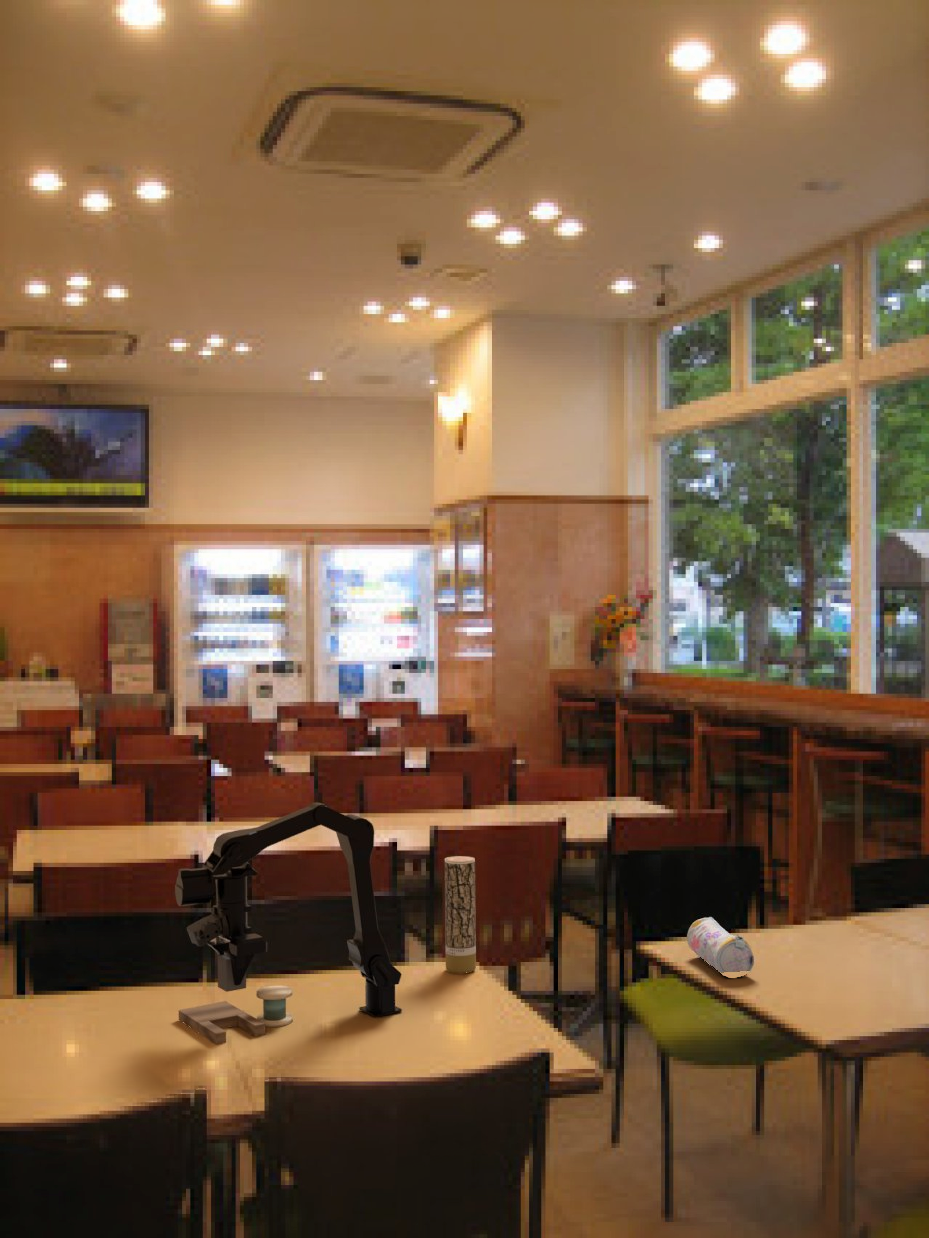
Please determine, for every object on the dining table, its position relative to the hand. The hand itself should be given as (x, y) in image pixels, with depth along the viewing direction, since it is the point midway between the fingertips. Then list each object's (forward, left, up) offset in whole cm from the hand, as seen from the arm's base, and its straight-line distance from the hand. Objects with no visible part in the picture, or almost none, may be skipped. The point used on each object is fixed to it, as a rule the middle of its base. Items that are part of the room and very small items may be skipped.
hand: (232, 982), depth 243 cm
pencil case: (-22, -108, -10) cm, 111 cm away
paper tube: (+10, -60, -10) cm, 62 cm away
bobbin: (+2, -10, -10) cm, 14 cm away
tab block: (0, 0, -1) cm, 1 cm away
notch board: (+5, 0, -10) cm, 11 cm away
